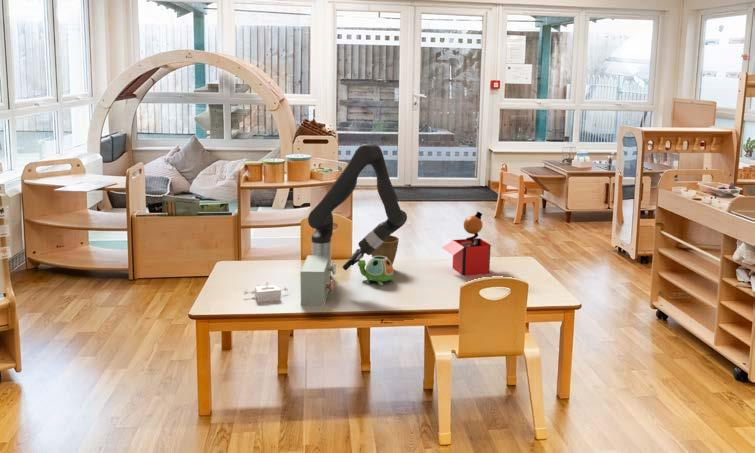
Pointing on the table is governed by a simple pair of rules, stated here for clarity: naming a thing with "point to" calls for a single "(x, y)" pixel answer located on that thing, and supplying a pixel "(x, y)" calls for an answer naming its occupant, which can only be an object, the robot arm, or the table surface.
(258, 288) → the cartoon character
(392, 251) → the plant pot
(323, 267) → the console
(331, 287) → the plunger terracotta
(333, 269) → the plunger cream
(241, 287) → the table surface
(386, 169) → the robot arm
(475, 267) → the jack-in-the-box
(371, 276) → the turtle holder
